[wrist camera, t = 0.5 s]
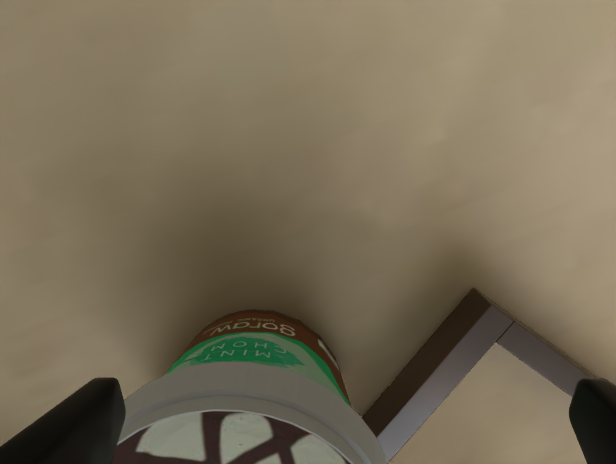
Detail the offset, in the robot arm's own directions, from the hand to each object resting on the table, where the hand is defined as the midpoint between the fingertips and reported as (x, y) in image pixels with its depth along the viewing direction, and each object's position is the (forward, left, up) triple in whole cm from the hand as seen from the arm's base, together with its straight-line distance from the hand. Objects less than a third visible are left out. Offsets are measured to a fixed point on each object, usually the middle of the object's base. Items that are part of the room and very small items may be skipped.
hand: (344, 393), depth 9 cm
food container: (-7, 0, -15) cm, 17 cm away
